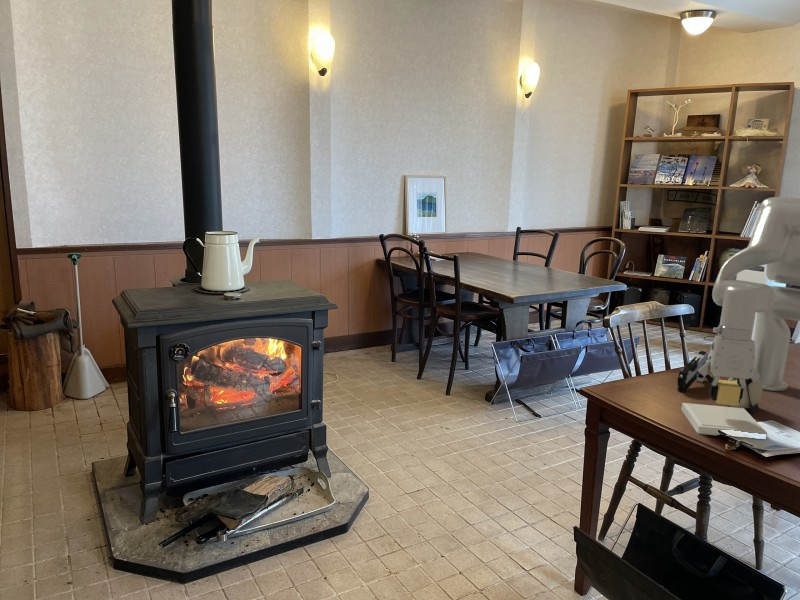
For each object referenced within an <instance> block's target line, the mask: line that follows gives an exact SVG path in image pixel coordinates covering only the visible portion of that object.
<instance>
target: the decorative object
mask: <svg viewBox="0 0 800 600" xmlns="http://www.w3.org/2000/svg"><path fill="white" fill-rule="evenodd" d="M727 380H728V381H735V382H736V383H737V378H728V379H727ZM763 390H764V389H763V387H762V383H761V381H760V380H759V379H757V380H755V381H753V382H752V383H750V384H749V385H747V386H746V388H745V389H744V390H743V396H742V399H740V403H738V406H735V405H727V407H734V408H744V409H745V410H746V409H750V415H751V416H752V417H754V415H755V413H757V411H758V409H759V402H760V400H761V399H762V396H763V392H764V391H763Z"/></svg>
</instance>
